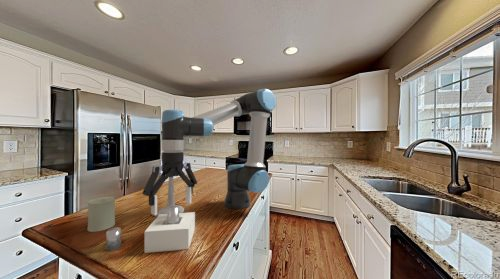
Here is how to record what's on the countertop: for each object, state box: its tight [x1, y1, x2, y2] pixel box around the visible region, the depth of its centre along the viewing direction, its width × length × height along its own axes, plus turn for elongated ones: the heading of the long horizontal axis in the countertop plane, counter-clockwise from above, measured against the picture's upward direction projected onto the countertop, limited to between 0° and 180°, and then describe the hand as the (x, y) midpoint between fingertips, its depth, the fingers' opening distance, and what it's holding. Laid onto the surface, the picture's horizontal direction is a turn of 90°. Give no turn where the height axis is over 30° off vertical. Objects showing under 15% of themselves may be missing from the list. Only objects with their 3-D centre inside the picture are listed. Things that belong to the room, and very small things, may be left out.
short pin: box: [105, 226, 122, 252], centre depth 62 cm, size 4×4×6 cm
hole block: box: [144, 211, 196, 254], centre depth 67 cm, size 14×14×7 cm
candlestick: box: [156, 176, 185, 216], centre depth 92 cm, size 13×13×30 cm
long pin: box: [167, 204, 180, 225], centre depth 67 cm, size 4×4×12 cm
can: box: [87, 196, 116, 233], centre depth 77 cm, size 9×9×12 cm
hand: (172, 208), depth 67 cm, fingers open, 13 cm apart
